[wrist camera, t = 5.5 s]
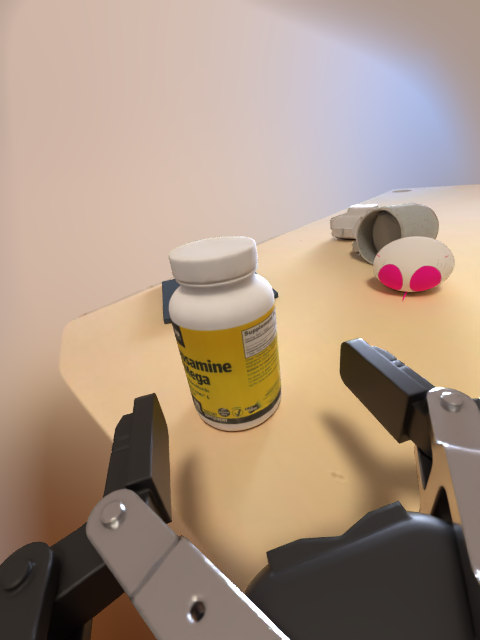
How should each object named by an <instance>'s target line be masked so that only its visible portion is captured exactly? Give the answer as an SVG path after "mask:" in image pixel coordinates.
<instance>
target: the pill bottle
mask: <svg viewBox="0 0 480 640" xmlns="http://www.w3.org/2000/svg"><path fill="white" fill-rule="evenodd" d="M169 260H170V264H171V269H172V273H173V276H174V278H175V281H176V282H177V283H179V284H180V287H178V288H177V289H176V291H175V292H174V293H173V295H172V297H171V299H170V302H169V313H170V318H171V323H172V326H173V329H174V333H175V337H176V340H177V344H178V348H179V351H180V355H181V359H182V363H183V366H184V369H185V373H186V376H187V380H188V384H189V387H190V391H191V395H192V398H193V402H194V405H195V407H196V410H197V412H198V414H199V415H200V417H201V418H202V419H203V420H204V421H205V422H206V423H208V424H209V425H211V426H213V427H215V428H218V429H221V430H226V431H239V430H245V429H249V428H252V427H254V426H257V425H259V424H260V423H262V422H264V421H265V420H267V419H268V418H269V417H270V416H271V415H272V414H273V413H274V412H275V410H276V409H277V407H278V405H279V402H280V399H281V378H280V365H279V352H278V339H277V326H276V312H275V299H274V293H273V289H272V287H271V285H270V284H269V283H268V281H267V280H265V279H264V278H263V277H261V276H260V275H258V274H255V271H256V270H257V268H258V264H257V263H258V257H257V249H256V243H255V241H254V240H253V239H251V238H248V237H242V236H224V237H213V238H207V239H202V240H197V241H193V242H189V243H186V244H184V245H181V246H179V247H177V248H175V249H173V250H172V251H171V252H170V254H169Z"/></svg>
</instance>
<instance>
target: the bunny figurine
mask: <svg viewBox="0 0 480 640" xmlns="http://www.w3.org/2000/svg"><path fill="white" fill-rule="evenodd" d="M375 208H378V205H353V206H351V207H349V209H348V211H347V213H344V214H342V215H339V216H336V217H333V218H331V220H330V227H331V230H332V236H335V237H336V238H347V239H356V232H357V228H358V225H359V223H360V221H361V219H362V218H363V217H364V216H365V215H366V214H367V213H368V212H369V211H371V210H373V209H375Z"/></svg>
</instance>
